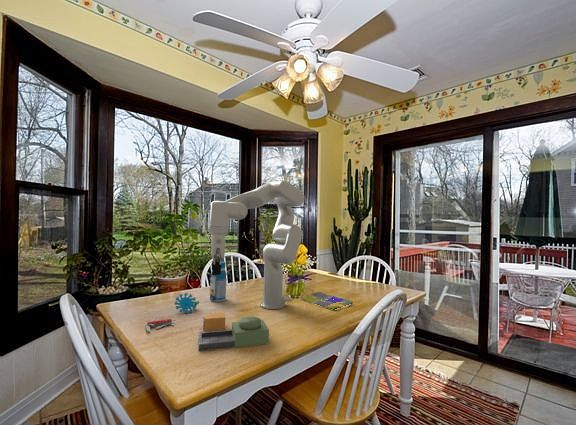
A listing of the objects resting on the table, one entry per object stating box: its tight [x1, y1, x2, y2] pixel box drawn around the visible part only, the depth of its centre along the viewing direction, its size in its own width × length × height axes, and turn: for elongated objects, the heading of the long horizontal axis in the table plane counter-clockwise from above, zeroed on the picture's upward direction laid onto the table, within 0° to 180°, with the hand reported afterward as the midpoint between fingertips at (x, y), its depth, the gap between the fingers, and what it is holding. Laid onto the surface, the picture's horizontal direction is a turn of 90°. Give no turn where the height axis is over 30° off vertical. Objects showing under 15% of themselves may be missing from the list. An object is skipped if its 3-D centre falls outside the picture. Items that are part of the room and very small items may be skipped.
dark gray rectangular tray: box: [197, 329, 236, 352], centre depth 103 cm, size 12×10×2 cm
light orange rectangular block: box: [202, 311, 226, 332], centre depth 116 cm, size 8×6×5 cm
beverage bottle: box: [209, 260, 228, 303], centre depth 153 cm, size 8×8×20 cm
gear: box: [174, 292, 200, 315], centre depth 135 cm, size 11×6×10 cm
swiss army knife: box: [146, 316, 177, 332], centre depth 117 cm, size 12×14×2 cm
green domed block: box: [231, 316, 270, 348], centre depth 107 cm, size 12×10×7 cm
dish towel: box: [301, 291, 354, 311], centre depth 155 cm, size 18×24×3 cm
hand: (215, 272), depth 119 cm, fingers open, 9 cm apart
